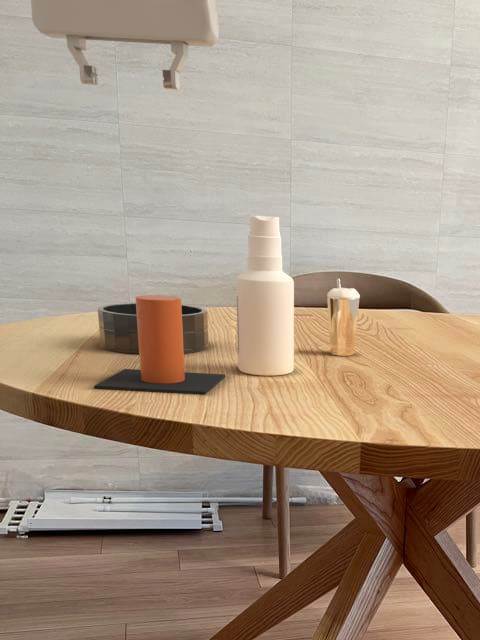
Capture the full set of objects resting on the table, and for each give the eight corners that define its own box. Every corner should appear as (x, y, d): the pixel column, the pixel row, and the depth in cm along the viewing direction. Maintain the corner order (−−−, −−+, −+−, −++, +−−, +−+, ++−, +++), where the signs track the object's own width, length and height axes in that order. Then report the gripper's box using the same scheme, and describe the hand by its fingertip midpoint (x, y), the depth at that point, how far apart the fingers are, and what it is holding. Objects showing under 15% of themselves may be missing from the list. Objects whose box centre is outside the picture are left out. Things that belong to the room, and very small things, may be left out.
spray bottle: (292, 366, 107) (292, 217, 100) (295, 376, 100) (295, 218, 94) (238, 365, 105) (235, 214, 99) (238, 375, 99) (234, 215, 92)
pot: (85, 351, 109) (81, 312, 107) (121, 335, 122) (118, 300, 121) (193, 357, 109) (192, 318, 107) (218, 341, 123) (217, 306, 121)
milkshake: (351, 350, 121) (353, 279, 117) (361, 356, 116) (364, 283, 112) (321, 350, 119) (322, 278, 116) (330, 356, 115) (331, 282, 111)
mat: (94, 388, 89) (94, 385, 89) (124, 371, 98) (124, 368, 98) (205, 394, 89) (205, 391, 89) (225, 376, 98) (225, 374, 98)
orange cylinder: (135, 382, 91) (129, 298, 88) (148, 374, 96) (143, 294, 92) (178, 384, 91) (174, 300, 88) (189, 376, 96) (186, 296, 92)
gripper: (12, -72, 87) (28, 77, 92) (206, -61, 87) (211, 87, 92) (38, -54, 93) (51, 85, 98) (220, -44, 93) (224, 94, 98)
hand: (130, 86), depth 95 cm, fingers open, 8 cm apart
